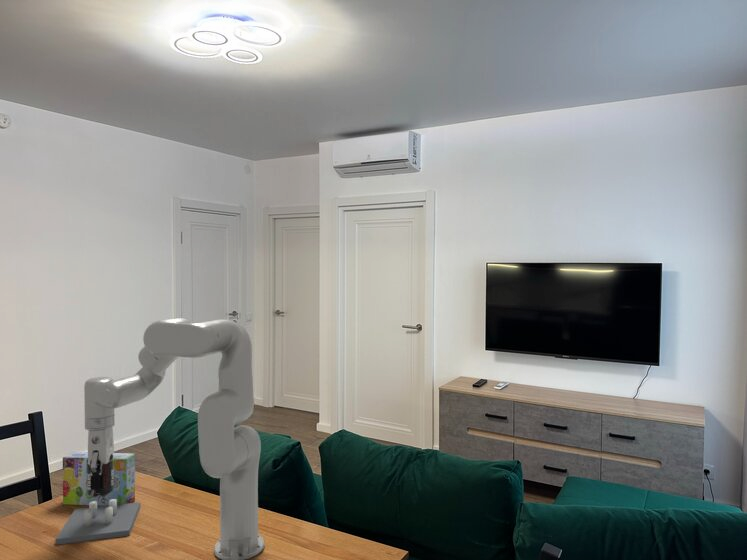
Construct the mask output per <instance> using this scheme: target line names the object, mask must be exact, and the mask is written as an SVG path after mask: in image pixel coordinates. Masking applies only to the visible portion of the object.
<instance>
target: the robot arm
mask: <svg viewBox="0 0 747 560" xmlns="http://www.w3.org/2000/svg"><path fill="white" fill-rule="evenodd" d="M142 336H143V337H142V339H143V344H144V346H143V347H142V348H141V349H140V351H139V352H138V361H139V363H140V365H141V368H140V369H139V370H138V371H137V372H136V373H135V374H133V375H130V376H126V377H122V378H119V379H115V380H114V379H113V378H112V377H108V376H100V377H99V376H98V377H92V378H89V379H87V380H86V381H85V383H84V386H83V387H84V390H83V392H84V394H83V397H84V398H83V399H84V430H85V431H88V434H87V435H88V436H87V452H88V464H89V465H90V466H91V476H90V479H91V490H97V489H103V487H104V474H102V471H103V464H107V463H108V462H109V459H110V456H111V454H112V455H113V454H114V453H115V449H114V448H115V446H114V430H113V427H115V424H116V423H115V409H118V408H122V407H124V406H125V407H126V406H127V405H129V404H130V405H131V404H133V403H137V402H140V401H142V400H144V399H146V398H147V397H148V396H150V395H151V393H153V392H154V390H156V388H158V386H160V385H161V383H162V382H163V380H164V378H165V375H166V371H167V369H168V368H170V366H171V365H172V364H173V363H174V362H175V361H176V360H177V359H178V358H179V357H180V358H190V359H191V358H194V359H196V358H204V357H207V356H211V355H215V354H217V353H221V355H222V356H221V359H220V362H219V366H218V370H217V371H218V373H217V374H218V375H217V377H218V390H217V391H216V392H213V393H212V394H209V395H208V396H206V398H204V399H203V400H202V402H201V403H200V406H199V407H198V412H197V431H198V432H197V433H198V434H197V436H198V453H199V460H200V465H201V468H202V469H203V471H204V472H205V473H206V475H208V476H209V477H211V478H214V479H219V481H220V482H219V518H220V519H219V522H220V526H219V528H220V530H219V531H220V533H219V534H220V537H219V539H218V540H217V542H216V543H214V547H213V551H214V555H215V556H216V557H217V559H220V560H249V559H251V558H253V557H255V556H257V555H258V554H260V553H261V552H262V551H263V549H264V547H265V541H264V540H265V539H264V538H263V536H261V535H260V534H259V503H258V502H259V492H258V490H259V489H258V488H259V482H258V481H259V466H260V465H259V463H260V458H261V449H262V441H261V438H260V435H259V433H258V431H257V430H256V429H254V427H252V426H249V425H243V424H242V425H239V424H241V423H243V422H245V421H246V420H247V419H248V418H251V416H252V414H253V412H254V408H255V405H254V403H255V400H254V399H255V398H254V380H253V367H252V365H253V364H252V363H253V361H252V360H253V359H252V358H253V350H252V348H253V347H252V342H251V337H250V334H249V333H248V331H247V330H246V328H244V327H243V326H242V325H241V324H240V323H238V322H236V321H233V320H230V319H214V320H208V321H202V322H198V323H197V322H196V323H193V322H192V321H191V320H189V319H186V318H183V317H182V318H181V317H178V318H177V317H175V318H168V319H161V320H156V321H153V322H151V324H149V325H148V326H147V327H146V328H145V330H144V332H143V335H142ZM91 460H92V462H90V461H91ZM98 461H101V463H97V462H98ZM97 466H100V470H99V468H97Z"/></svg>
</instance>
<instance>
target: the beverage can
mask: <svg viewBox="0 0 747 560" xmlns="http://www.w3.org/2000/svg"><path fill="white" fill-rule="evenodd" d="M90 462H92V460H91V461H90ZM97 463H101V461H98V462H97ZM86 468H87V494H88V495H89V496H91V497H94V498H99V497H104V496H106V495H108V494H109V493H111V492H112V491H113V489H114V460H113V455H112V454H111V456H110V459H109V462H108V463H107V464H103V471H102V474H104V487H103V489H97V490H91V479H90V476H91V466H90V465H89V464H88V458H87V461H86ZM97 468H99V470H100V466H97Z"/></svg>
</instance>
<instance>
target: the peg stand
mask: <svg viewBox="0 0 747 560" xmlns="http://www.w3.org/2000/svg"><path fill="white" fill-rule="evenodd" d="M140 509H141V501H138V502H132V503H128V504H119V505H117V499H111V500H109V506H97V501H92V502H90V503H89V505H88V507H84V508H82V507H81V508H75V509H74V510H73V512H72V513H71V514H70V516H69V517H68V519H67V521H66V522H65V524H64V526H63V527H62V528H61V530H60V532H59V533H58V534H57V536H56V537H55V539H54V540H55V543H54V544H55V545H65V544H72V543H73V544H74V543H80V542H81V543H82V542H89V541H97V540H105V539H113V538H114V539H115V538H120V537H129V536H130V535H131V532H132V530H133V528H134V524H135V522H136V520H137V517H138V515H139V512H140Z"/></svg>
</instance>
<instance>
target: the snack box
mask: <svg viewBox="0 0 747 560" xmlns="http://www.w3.org/2000/svg"><path fill="white" fill-rule="evenodd" d="M87 458H88V451H87V452H86V451H71V453H70V452H69V454H67V455H64V456H62V505H68V506H69V505H70V506H71V505H74V506H89V503H90V502H92V501H97V507H101V506H109V500H111V499H117V505H119V504H128V503H134V502H135V500H136V454H135V453H130V452H129V453H127V452H125V453H123V452H114V454H113V460H114V489H113V491H112V492H111V493H109V494H108V495H106V496H104V497H99V498H94V497H91V496H89V495H88V494H87V468H86V461H87Z"/></svg>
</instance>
